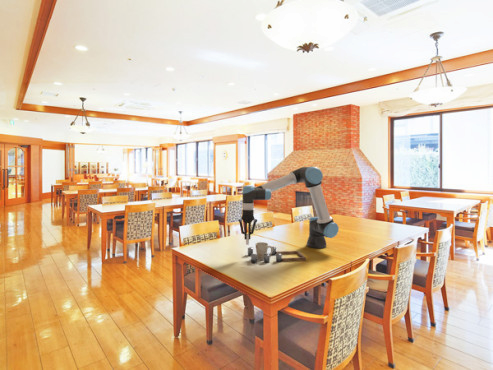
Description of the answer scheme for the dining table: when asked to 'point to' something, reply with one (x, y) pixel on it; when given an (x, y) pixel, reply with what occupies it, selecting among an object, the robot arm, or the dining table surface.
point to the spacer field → (266, 256)
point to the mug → (262, 250)
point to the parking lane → (301, 258)
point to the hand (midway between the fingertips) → (247, 244)
